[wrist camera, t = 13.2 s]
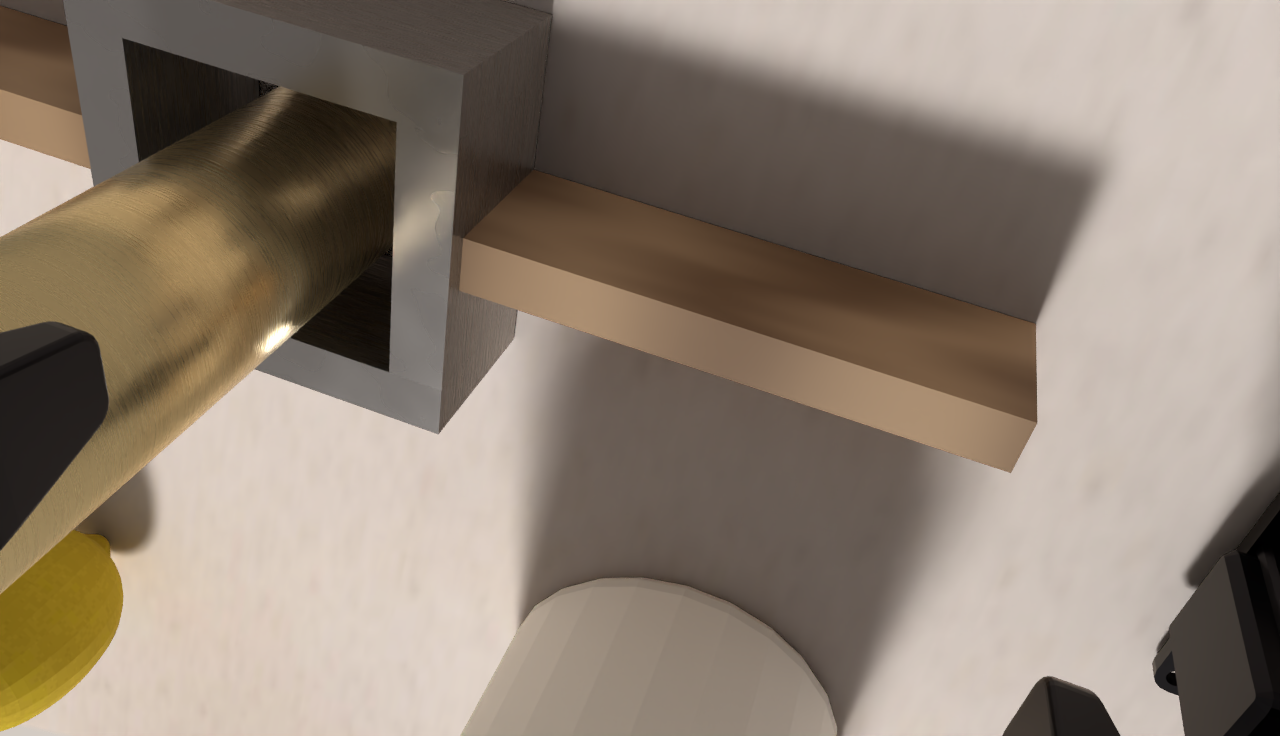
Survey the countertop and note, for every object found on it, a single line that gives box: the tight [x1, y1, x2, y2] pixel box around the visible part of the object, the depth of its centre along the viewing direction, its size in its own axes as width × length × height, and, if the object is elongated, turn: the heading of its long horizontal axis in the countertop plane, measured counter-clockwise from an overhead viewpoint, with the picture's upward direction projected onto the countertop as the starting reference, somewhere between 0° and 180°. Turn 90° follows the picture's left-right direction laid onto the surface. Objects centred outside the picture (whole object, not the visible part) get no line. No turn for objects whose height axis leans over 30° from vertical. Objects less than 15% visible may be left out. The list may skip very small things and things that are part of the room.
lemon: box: [0, 529, 123, 731], centre depth 32 cm, size 6×6×8 cm
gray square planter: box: [63, 0, 552, 434], centre depth 22 cm, size 8×8×4 cm
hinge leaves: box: [0, 6, 1037, 473], centre depth 22 cm, size 30×1×4 cm, turn 79°
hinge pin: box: [0, 86, 397, 594], centre depth 18 cm, size 4×4×14 cm
